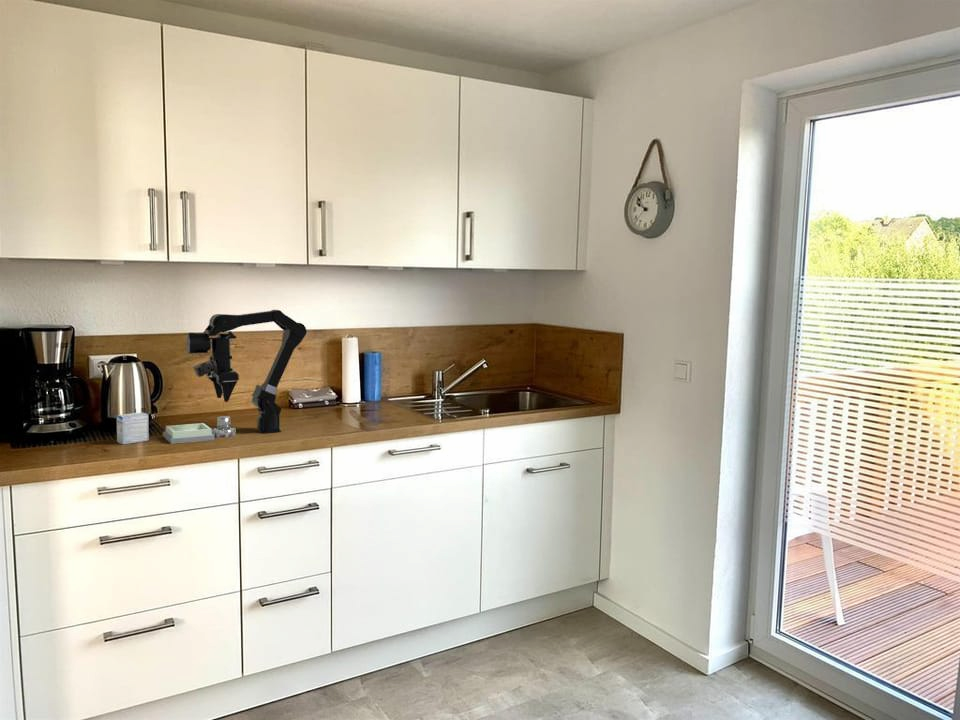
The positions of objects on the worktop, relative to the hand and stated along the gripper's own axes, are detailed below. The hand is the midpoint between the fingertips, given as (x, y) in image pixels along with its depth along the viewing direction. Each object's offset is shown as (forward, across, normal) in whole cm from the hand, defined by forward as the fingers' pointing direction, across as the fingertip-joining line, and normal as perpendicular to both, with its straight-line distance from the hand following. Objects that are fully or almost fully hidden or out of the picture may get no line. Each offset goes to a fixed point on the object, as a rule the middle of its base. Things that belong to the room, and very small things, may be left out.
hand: (222, 399), depth 232 cm
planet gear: (+12, 0, 0) cm, 12 cm away
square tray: (+12, 0, -11) cm, 16 cm away
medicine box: (+12, -2, -27) cm, 29 cm away
